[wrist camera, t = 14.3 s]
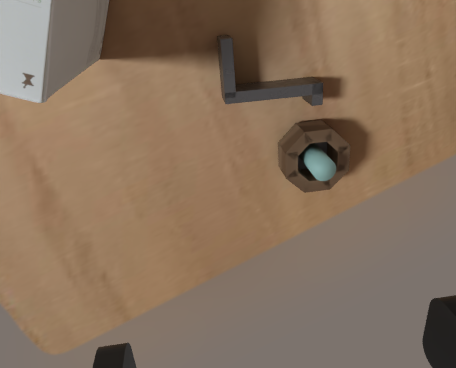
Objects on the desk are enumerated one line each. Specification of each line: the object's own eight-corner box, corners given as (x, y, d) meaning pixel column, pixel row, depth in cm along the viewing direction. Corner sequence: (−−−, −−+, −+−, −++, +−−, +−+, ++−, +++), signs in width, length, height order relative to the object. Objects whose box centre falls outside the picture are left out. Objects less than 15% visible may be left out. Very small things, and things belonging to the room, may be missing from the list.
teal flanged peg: (283, 129, 40) (298, 148, 35) (330, 123, 40) (352, 142, 35) (283, 173, 42) (298, 197, 37) (328, 168, 42) (348, 191, 37)
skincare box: (112, -13, 33) (65, -20, 19) (99, 65, 35) (49, 110, 21) (5, -48, 31) (-139, -86, 17) (-1, 37, 33) (-130, 66, 19)
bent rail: (217, 36, 35) (220, 39, 32) (313, 27, 36) (324, 29, 33) (222, 106, 38) (226, 114, 35) (312, 97, 39) (322, 104, 36)
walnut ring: (277, 125, 39) (285, 134, 36) (339, 117, 39) (351, 126, 37) (279, 182, 42) (286, 195, 39) (336, 174, 42) (347, 186, 39)
